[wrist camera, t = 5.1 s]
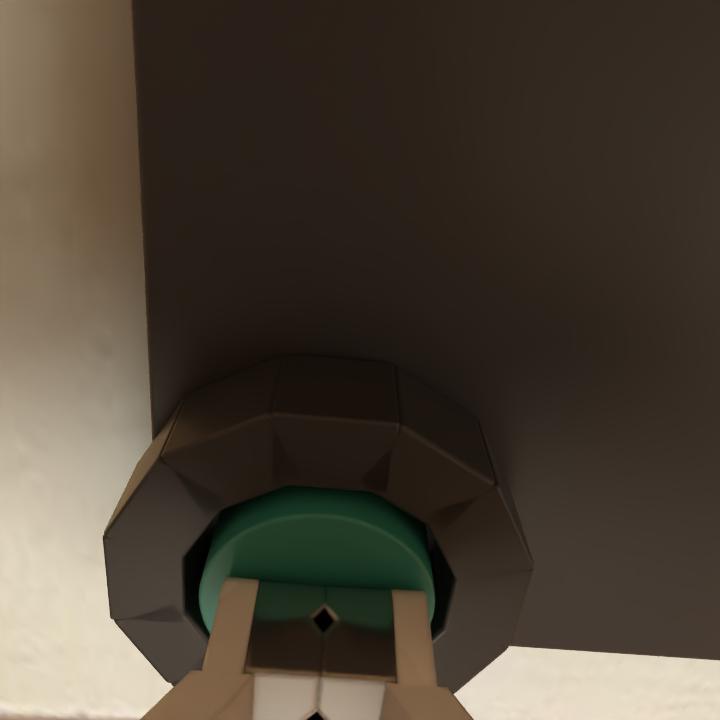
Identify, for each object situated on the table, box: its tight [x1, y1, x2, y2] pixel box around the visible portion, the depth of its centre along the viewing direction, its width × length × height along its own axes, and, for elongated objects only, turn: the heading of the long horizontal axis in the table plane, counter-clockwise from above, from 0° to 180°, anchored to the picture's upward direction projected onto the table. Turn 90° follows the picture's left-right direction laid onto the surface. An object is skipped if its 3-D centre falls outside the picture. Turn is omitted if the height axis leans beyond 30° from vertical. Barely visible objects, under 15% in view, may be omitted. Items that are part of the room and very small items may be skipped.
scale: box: [103, 0, 720, 694], centre depth 10 cm, size 16×14×3 cm
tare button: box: [199, 485, 435, 634], centre depth 11 cm, size 4×4×2 cm
